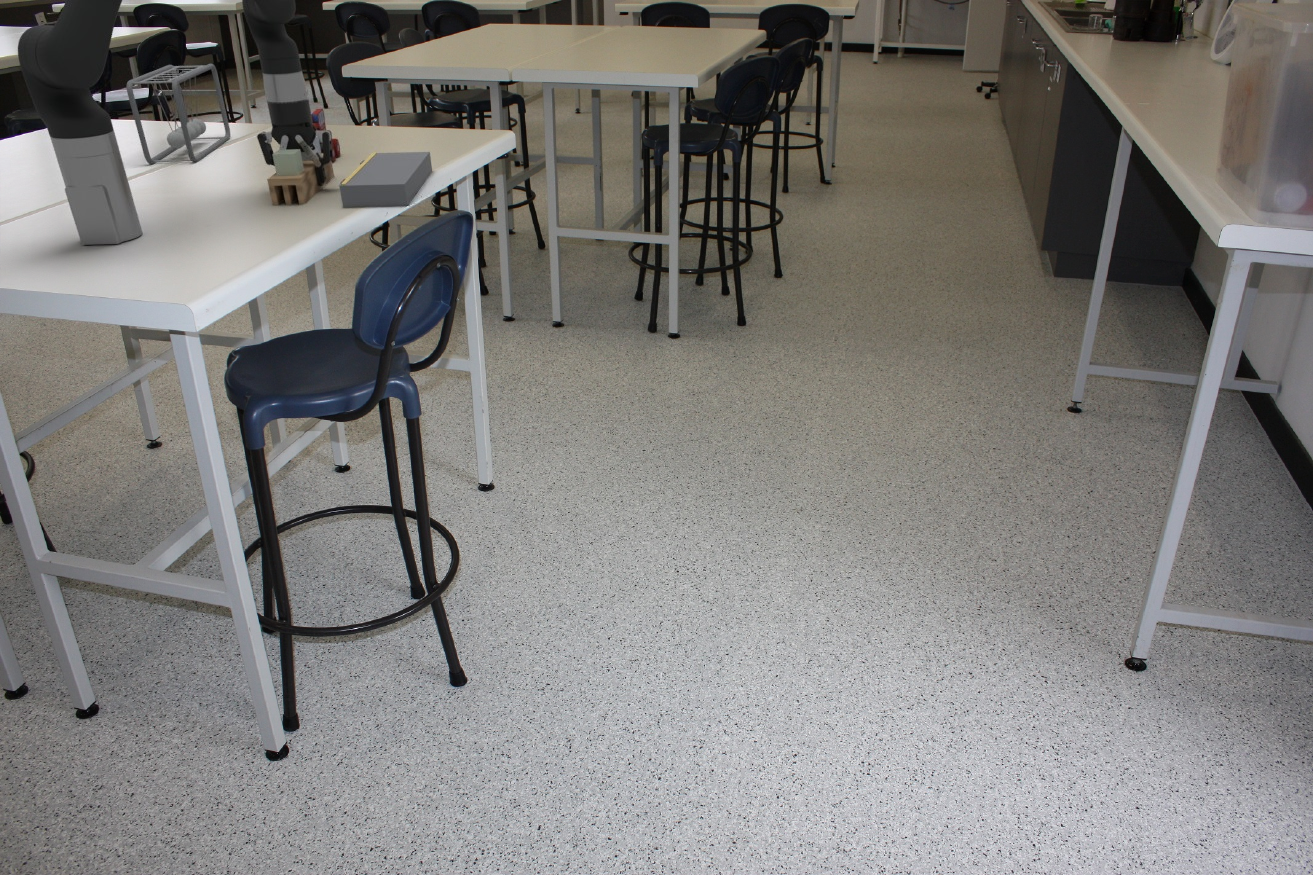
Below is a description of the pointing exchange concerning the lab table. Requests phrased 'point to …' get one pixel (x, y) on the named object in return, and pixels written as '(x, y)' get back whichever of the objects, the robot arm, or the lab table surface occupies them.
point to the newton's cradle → (179, 113)
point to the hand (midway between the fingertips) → (304, 185)
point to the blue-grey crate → (317, 144)
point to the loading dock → (386, 179)
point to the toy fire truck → (320, 125)
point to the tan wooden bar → (298, 184)
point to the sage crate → (288, 162)
